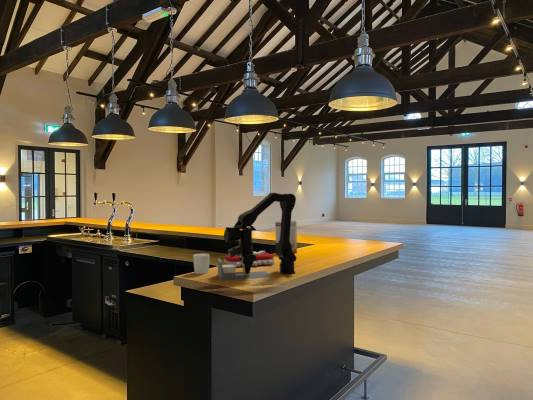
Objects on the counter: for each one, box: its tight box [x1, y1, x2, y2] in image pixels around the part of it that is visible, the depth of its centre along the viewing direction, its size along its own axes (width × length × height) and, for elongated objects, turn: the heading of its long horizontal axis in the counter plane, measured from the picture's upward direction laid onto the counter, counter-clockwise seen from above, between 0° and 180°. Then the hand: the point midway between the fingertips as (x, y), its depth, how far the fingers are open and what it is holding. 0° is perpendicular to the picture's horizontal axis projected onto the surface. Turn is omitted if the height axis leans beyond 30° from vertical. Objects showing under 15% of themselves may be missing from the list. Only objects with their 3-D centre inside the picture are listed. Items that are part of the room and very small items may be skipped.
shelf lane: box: [217, 258, 273, 281], centre depth 188 cm, size 24×14×9 cm, turn 104°
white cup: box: [192, 253, 210, 275], centre depth 198 cm, size 8×8×10 cm
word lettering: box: [223, 250, 275, 269], centre depth 224 cm, size 27×7×30 cm
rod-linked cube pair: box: [222, 264, 251, 275], centre depth 188 cm, size 13×6×6 cm, turn 104°
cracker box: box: [274, 220, 298, 254], centre depth 266 cm, size 14×6×21 cm, turn 84°
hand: (246, 273), depth 189 cm, fingers closed on rod-linked cube pair, 3 cm apart
